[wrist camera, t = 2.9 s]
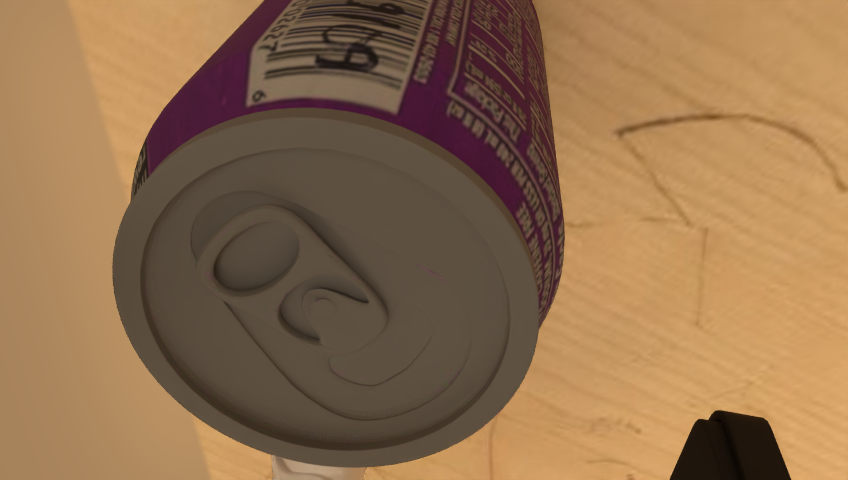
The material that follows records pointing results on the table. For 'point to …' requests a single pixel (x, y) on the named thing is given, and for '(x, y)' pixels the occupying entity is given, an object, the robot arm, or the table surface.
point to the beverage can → (349, 228)
